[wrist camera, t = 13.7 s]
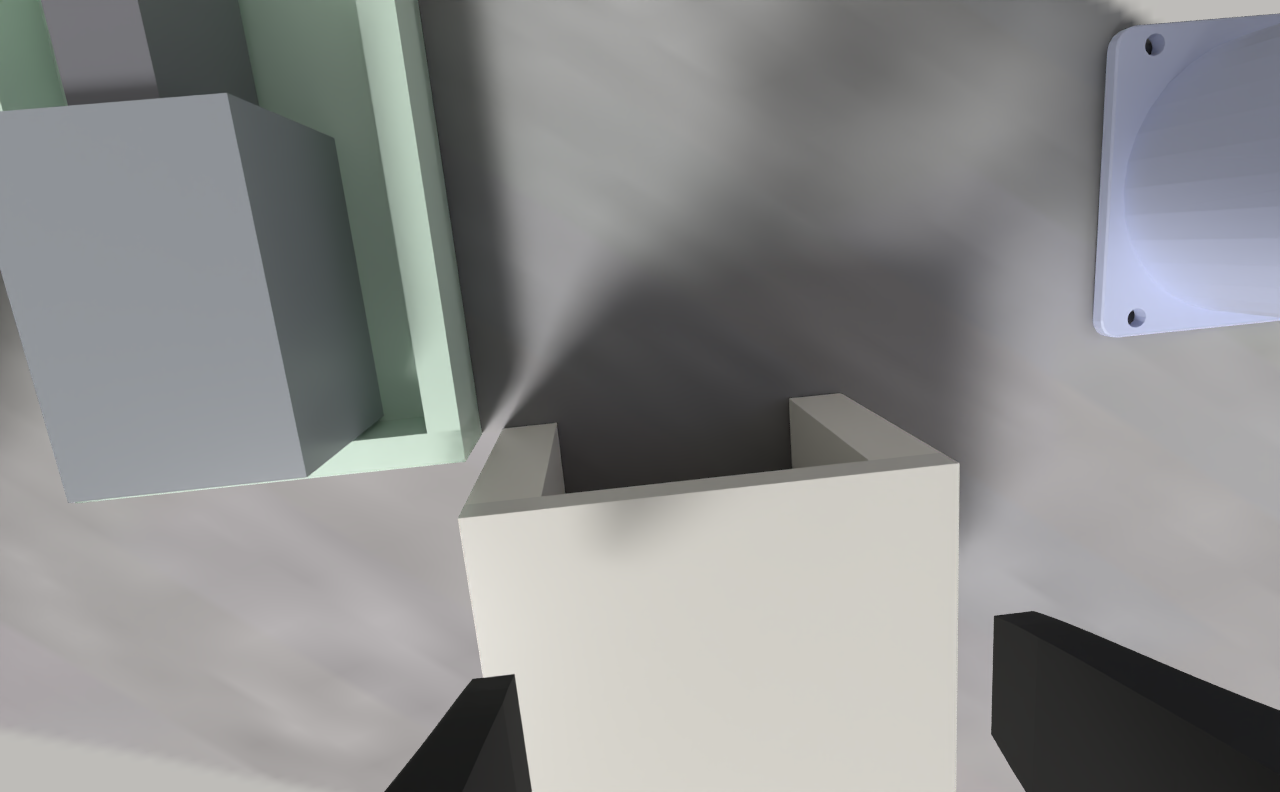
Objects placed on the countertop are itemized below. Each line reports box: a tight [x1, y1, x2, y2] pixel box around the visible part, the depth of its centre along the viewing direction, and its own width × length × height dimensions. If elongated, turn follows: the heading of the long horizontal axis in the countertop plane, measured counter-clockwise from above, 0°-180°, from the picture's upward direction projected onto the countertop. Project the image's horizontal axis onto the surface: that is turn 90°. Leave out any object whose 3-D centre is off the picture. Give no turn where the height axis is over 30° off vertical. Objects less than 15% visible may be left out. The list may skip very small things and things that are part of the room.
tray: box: [0, 0, 482, 503], centre depth 16 cm, size 9×15×2 cm, turn 5°
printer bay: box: [458, 393, 960, 792], centre depth 17 cm, size 10×8×6 cm
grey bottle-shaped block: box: [0, 0, 384, 503], centre depth 14 cm, size 4×11×5 cm, turn 5°
